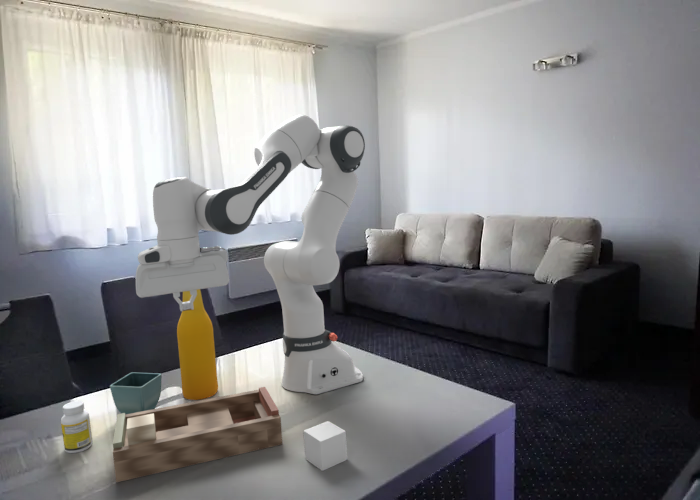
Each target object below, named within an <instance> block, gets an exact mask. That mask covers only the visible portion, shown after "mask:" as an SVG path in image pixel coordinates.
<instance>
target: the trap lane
mask: <svg viewBox="0 0 700 500" xmlns="http://www.w3.org/2000/svg"><path fill="white" fill-rule="evenodd" d="M153 413H154V419H155V429H156V440H153V441H148V442H144V443H139V444H134V445H129V446H128V438H127V418H132V417H137V416H143V415H148V414H153ZM116 415H117V416H116V422H115V427H114V428H115V429H114V434H113V440H112V447H113V448H112V457H113V466H114V473H115V476H114V477H115V482H116V483H120V482H124V481H128V480H134V479H139V478H142V477H146V476H152V475H155V474H159V473H162V472H167V471H172V470H176V469H182V468H184V467H189V466H194V465H197V464H198V465H199V464H202V463H207V462H211V461H216V460H219V459H221V460H222V459H225V458H228V457H234V456H238V455H242V454H246V453H250V452H251V453H252V452H254V451H259V450H264V449H267V448H272V447H276V446H281V445H283V434H282V419H281V416H280V410H279V408H278V407H277V405H276V402H275V401H274V399H273V397H272V396H271V394H270V393H269V391H268V389H267V388H266V386H261V387H258V389H253V390H247V391H244V392H238V393H232V394H228V395H223V396H217V397H210V398H206V399H202V400H194V401H189V402H185V403H180V404H175V405H169V406H162V407H159V408H155V409H152V410H147V411H141V412H136V413H131V414H125V413H117V414H116Z"/></svg>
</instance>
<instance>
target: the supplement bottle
mask: <svg viewBox="0 0 700 500" xmlns="http://www.w3.org/2000/svg"><path fill="white" fill-rule="evenodd" d="M62 412H63V416H62V417H61V419H60V426H61V433H62V440H63V446H64V450H65V452H66V454H67V453H68V454H77V453H81V452H83V451H86V450H88V449H89V448H90V447H92V445H93V434H92V427H91V419H90V413H89V411H87V410H86V409H85V402H84V401H82V400H73V401H70V402H68V403H65V404H64V405H63V406H62Z"/></svg>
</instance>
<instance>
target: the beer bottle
mask: <svg viewBox="0 0 700 500" xmlns="http://www.w3.org/2000/svg"><path fill="white" fill-rule="evenodd" d="M191 296H192V295H191V294H190V291H184V292H182V302H187V301H190V298H191ZM203 302H204V301H203V297H202V291H201V289H198V290H197V296H196V298H195V300H194V302H193V307H194V310H187V311H181V314H180V317H179V320H178V322H177V325H176V328H177V329H176V337H177V346H178V348H177V349H178V358H179V368H180V380H181V391H182V396H183V397H184V399H186V400H189V401H200V400H205V399H210V398H212V397H213V396H215V395H216V394H217V393H218V390H219V381H218V373H217V372H218V371H217V362H216V361H217V360H216V349H215V338H214V336H215V335H214V326H213V322H212V320H211V318H210V316H209V314H208V313H207V311H206V309H205V306H204V303H203Z"/></svg>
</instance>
